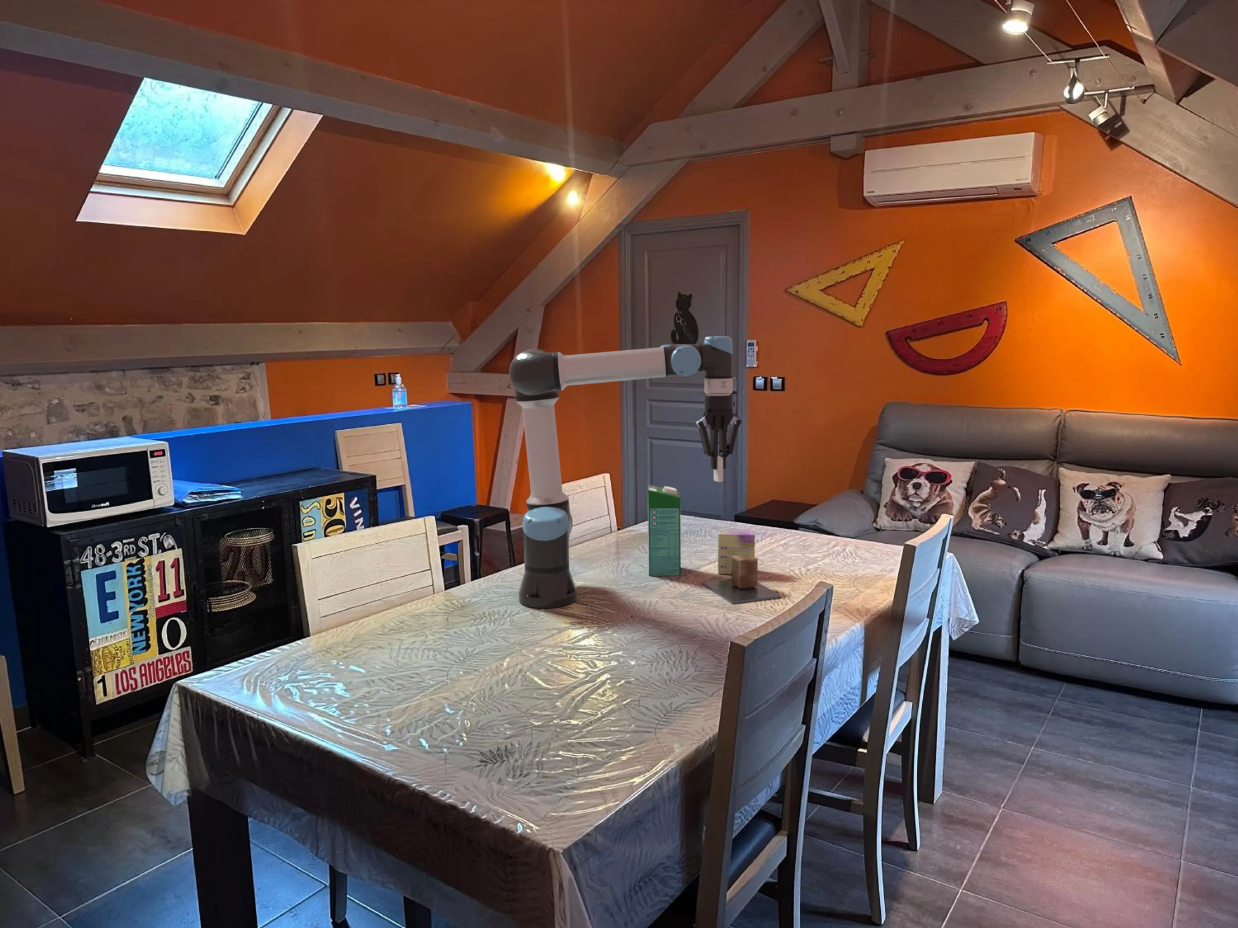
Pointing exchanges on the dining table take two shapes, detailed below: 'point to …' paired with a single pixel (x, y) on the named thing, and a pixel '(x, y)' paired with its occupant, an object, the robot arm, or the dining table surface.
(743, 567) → the brown rectangular block
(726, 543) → the box
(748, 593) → the grey plate
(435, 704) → the dining table surface
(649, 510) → the milk carton
